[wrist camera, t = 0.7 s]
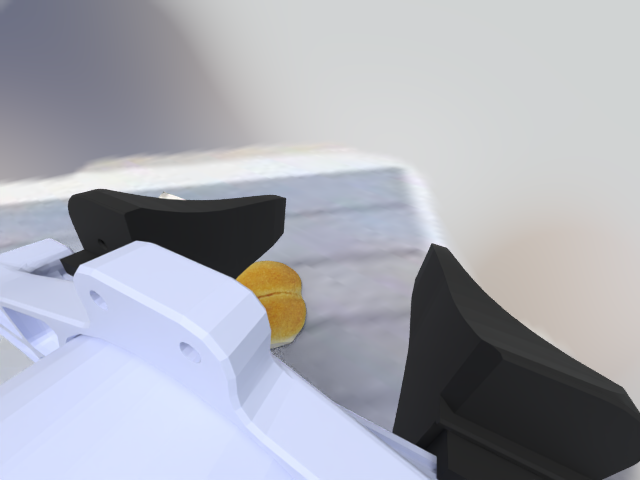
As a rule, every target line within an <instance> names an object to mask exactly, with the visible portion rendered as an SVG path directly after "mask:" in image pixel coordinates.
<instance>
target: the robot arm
mask: <svg viewBox="0 0 640 480" xmlns="http://www.w3.org/2000/svg"><path fill="white" fill-rule="evenodd" d="M285 207H286V198H283V197H280V196H277V195H261V196H252V197H243V198H233V199H222V200H178V199H164V198H155V197H147V196H140V195H134V194H128V193H123V192H117V191H112V190H107V189H95V190H91V191H87V192H83V193H79V194H75V195H72V196H71V198H70V199H69V202H68V210H69V215H70V218H71V220H72V223H73V225H74V227H75V230H76V232H77V234H78V237H79V239H80V241H81V243H82V246H83V248H84V250H82V251H79V252H77V253H74V252H73V250H72V249H71V248H69V247H68V246H66V245H64V244H62V243H60V242H58V241H56V240H54V239H51V238H47V239H44V240H41V241H38V242H35V243H32V244H29V245H26V246H23V247H20V248H17V249H14V250H11V251H8V252H5V253H1V254H0V335H1V336H2V337H4V338H5V339H6V340H8V341H9V342H10V343H11V344H13V345H14V346H15V347H16V348H17V349H19V350H20V351H21V352H22V353H24V354H25V355H26V356H27V357H28V358H29V359H31V360H32V361H33V362H34V364H32V365H31V366H29V367H27V368H26V369H24V370H23V371H21V372H19V373H18V374H16V375H15V376H13V377H11V378H10V379H8V380H7V381H5V382H3V383H2V384H0V480H602V479H604V478H607V477H609V476H611V475H613V474H616V473H618V472H620V471H622V470H624V469H627V468H629V467H631V466H633V465H635V464H637V463H638V462H639V461H640V412H639V411H638V409H637V408H636V406H635V405H634V403H633V402H632V400H631V399H630V397H629V396H628V394H627V393H626V391H625V390H624V388H623V387H621V386H619V385H618V384H616V383H614V382H612V381H611V380H609V379H607V378H606V377H604V376H602V375H601V374H599V373H597V372H595V371H594V370H592V369H590V368H589V367H587V366H585V365H583V364H582V363H580V362H578V361H577V360H575V359H573V358H572V357H570V356H568V355H567V354H565V353H564V352H562V351H561V350H559V349H558V348H556V347H555V346H553V345H552V344H550V343H548V342H547V341H545V340H544V339H542V338H541V337H540V336H538V335H537V334H535V333H534V332H532V331H531V330H530V329H528V328H527V327H526V326H524V325H523V324H522V323H520V322H519V321H518V320H517V319H515V318H514V317H513V316H511V315H510V314H509V313H508V312H506V311H505V310H504V309H503V308H502V307H501V306H500V305H498V304H497V303H496V302H495V301H494V300H493V299H492V298H491V297H489V296H488V295H487V294H486V293H485V292H484V291H483V290H482V289H481V287H480V286H479V285H478V284H477V283H476V282H475V281H474V280H473V279H472V278H471V277H470V275H469V274H468V273H467V272H466V271H465V269H464V268H463V267H462V266H461V265H460V263H459V262H458V261H457V259H456V258H455V257H454V256H453V254H452V253H451V252H450V251H449V250H448V249H447V248H446V247H442V246H439V245H436V244H433V243H432V244H431V246H430V248H429V250H428V253H427V255H426V257H425V259H424V261H423V264H422V266H421V268H420V270H419V273H418V275H417V277H416V279H415V283H414V288H413V293H412V300H411V318H410V338H409V348H408V355H407V360H406V366H405V372H404V377H403V383H402V388H401V393H400V398H399V403H398V408H397V413H396V418H395V423H394V427H393V432H390V431H388V430H386V429H384V428H382V427H380V426H378V425H377V424H375V423H373V422H371V421H369V420H367V419H365V418H363V417H362V416H360V415H358V414H356V413H354V412H352V411H350V410H348V409H346V408H345V407H343V406H341V405H339V404H337V403H335V402H333V401H332V400H331V399H330V398H328V397H327V396H326V395H324V394H323V393H322V392H321V391H319V390H318V389H317V388H316V387H314V386H313V385H312V384H310V383H309V382H308V381H307V380H305V379H304V378H303V377H301V376H300V375H299V374H298V373H296V372H295V371H294V370H293V369H291V368H290V367H289V366H287V365H286V364H285V363H284V362H282V361H281V360H280V359H278V358H277V357H276V356H275V355H273V354H272V353H271V350H270V343H271V328H270V324H269V320H268V316H267V312H266V309H265V307H264V306H263V305H262V303H261V302H260V301H259V299H258V298H257V297H256V295H255V294H254V293H253V291H251V290H250V289H248V288H247V287H246V286H244V285H243V284H241V283H240V282H238V281H237V280H236V279H237V278H238V276H239V275H241V274H242V273H243V272H244V271H245V270H246V269H247V268H248V267H249V266H250V265H252V264H253V263H254V262H255V261H256V260H257V259H259V258H260V257H261V256H262V255H263V254H264V253H265V252H267V251H268V250H269V249H270V248H271V247H272V246H273V245H274V244H275V243H276V242H277V241H278V239H279V238H280V237H281V236H282V234H283V233H284V220H285Z"/></svg>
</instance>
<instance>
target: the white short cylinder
mask: <svg viewBox="0 0 640 480" xmlns="http://www.w3.org/2000/svg"><path fill="white" fill-rule="evenodd" d="M32 364H34V362H33V361H32V360H31V359H29V358H28V357H27V356H26V355H25V354H24V353H22V352H21V351H20V350H19V349H17V348H16V347H15V346H14V345H13V344H11V343H10V342H9V341H8V340H6V339H5V338H4V337H2V336H1V335H0V384H2V383H3V382H5V381H7V380H8V379H10V378H11V377H13V376H15V375H16V374H18V373H19V372H21V371H23V370H24V369H26V368H27V367H29V366H31V365H32Z"/></svg>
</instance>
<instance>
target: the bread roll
mask: <svg viewBox="0 0 640 480" xmlns="http://www.w3.org/2000/svg"><path fill="white" fill-rule="evenodd" d="M236 280H237V281H238V282H240V283H241V284H243V285H244V286H246V287H247V288H248V289H250V290H251V291H253V293H254V294H255V295H256V297H257V298H258V299H259V301H260V302H261V303H262V305H263V306H264V307H265V309H266V312H267V316H268V320H269V324H270V328H271V343H270V349H273V348H277V347H280V346H282V345H285V344H289V343H291V342H293V341H294V339H295V337H296V336H297V334H298V333H299V332H300V330H301V329H302V327H303V325H304V322H305V317H306V307H305V303H304V300H303V299H302V296H301V280H300V277H299V275H298V274H297V273H296V272H295V271H294V270H293V269H291V268H290V267H288V266H287V265H285V264H283V263H279V262H274V261H260V262H255V263H253V264H252V265H250V266H249V267H248V268H247V269H246V270H245V271H244V272H243V273H242V274H241V275H239V276H238V278H237V279H236Z"/></svg>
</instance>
